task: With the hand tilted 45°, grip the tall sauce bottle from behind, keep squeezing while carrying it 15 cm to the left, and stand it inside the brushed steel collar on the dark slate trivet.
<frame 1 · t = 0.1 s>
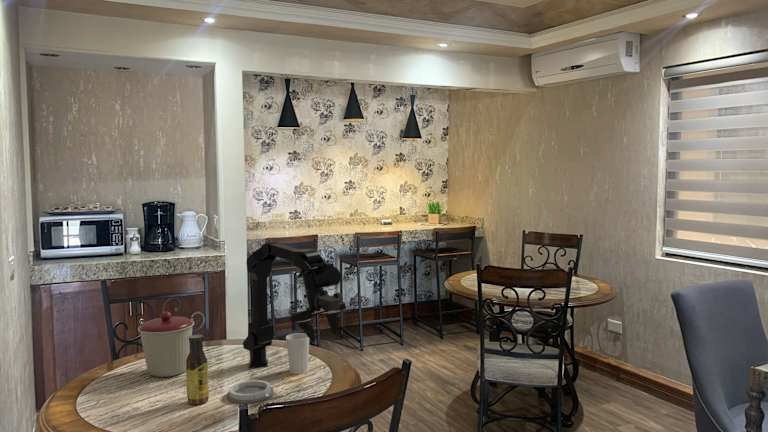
hand: (324, 338, 186), 15 cm above the table, tool pointing down, fingers open, 9 cm apart
cup: (299, 371, 202), on the table
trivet: (250, 394, 182), on the table
sauce bottle: (198, 402, 178), on the table
canister: (169, 372, 204), on the table
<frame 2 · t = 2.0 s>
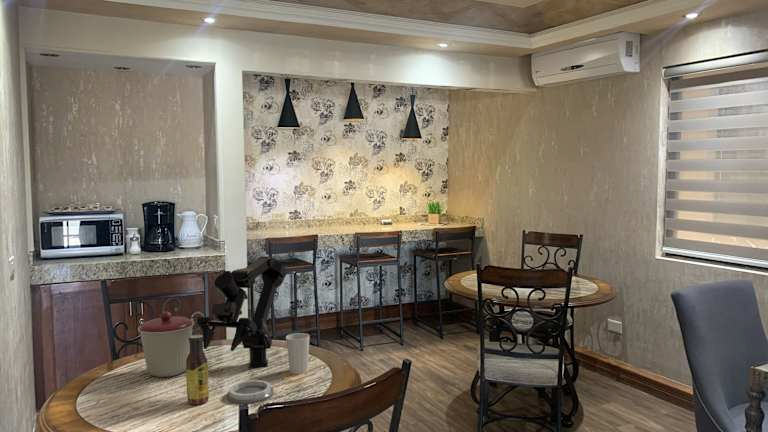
hand: (218, 349, 184), 14 cm above the table, tool tilted 45°, fingers open, 9 cm apart
nothing on the table moved.
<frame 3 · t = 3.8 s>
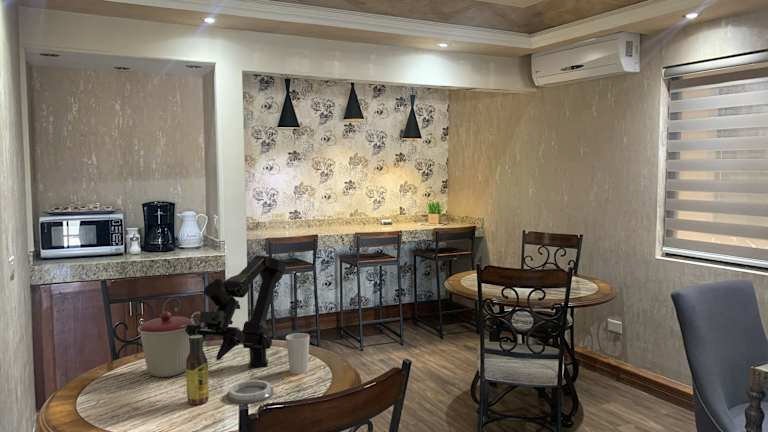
hand: (204, 358, 180), 12 cm above the table, tool tilted 45°, fingers open, 9 cm apart
nothing on the table moved.
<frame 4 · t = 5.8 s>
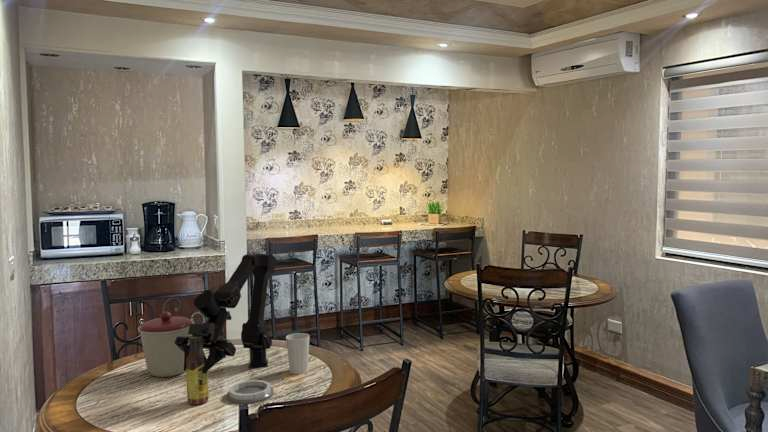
hand: (194, 371, 176), 10 cm above the table, tool tilted 45°, fingers closed on sauce bottle, 6 cm apart
sauce bottle: (198, 402, 178), on the table, touching gripper
everything else where it was.
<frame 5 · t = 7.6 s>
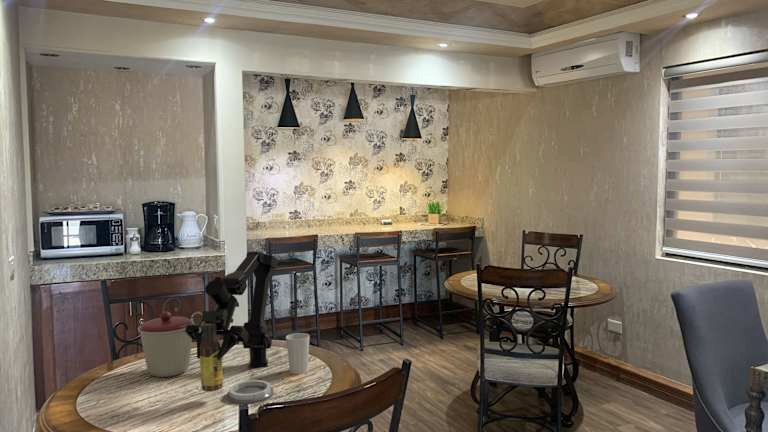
hand: (208, 358, 176), 13 cm above the table, tool tilted 45°, fingers closed on sauce bottle, 6 cm apart
sauce bottle: (212, 388, 178), point 3 cm above the table, touching gripper
everything else where it was.
when the fingers open (12 cm above the table, at t = 9.8 s): sauce bottle drops 1 cm, resting on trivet.
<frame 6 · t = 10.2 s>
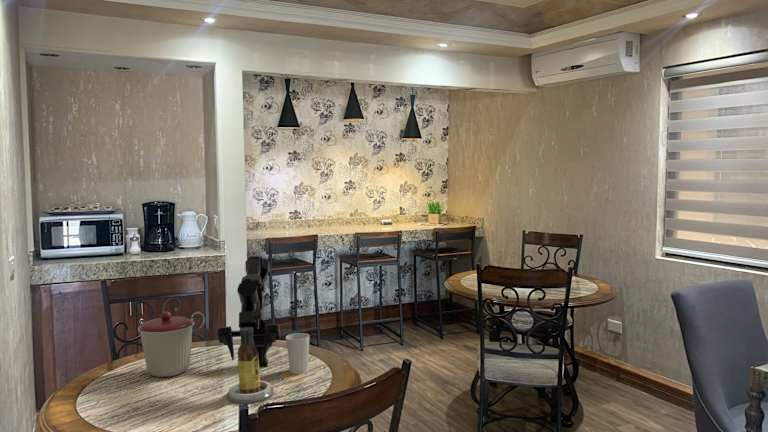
hand: (248, 358, 180), 12 cm above the table, tool tilted 45°, fingers open, 9 cm apart
sauce bottle: (250, 392, 182), point 1 cm above the table, touching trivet
everything else where it was.
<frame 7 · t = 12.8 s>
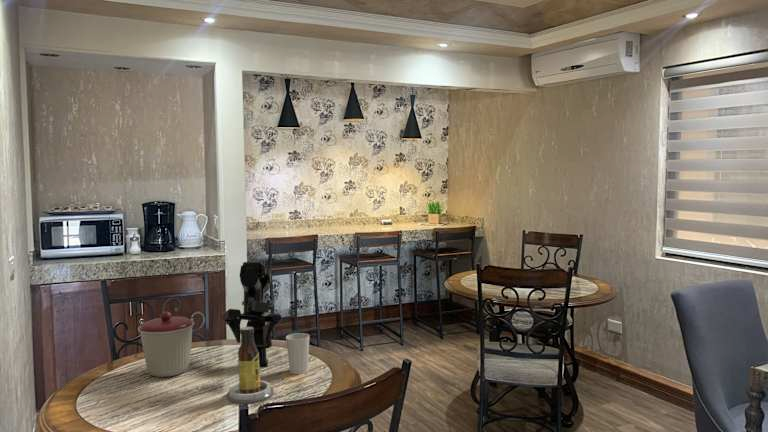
hand: (252, 343, 191), 13 cm above the table, tool tilted 30°, fingers open, 9 cm apart
nothing on the table moved.
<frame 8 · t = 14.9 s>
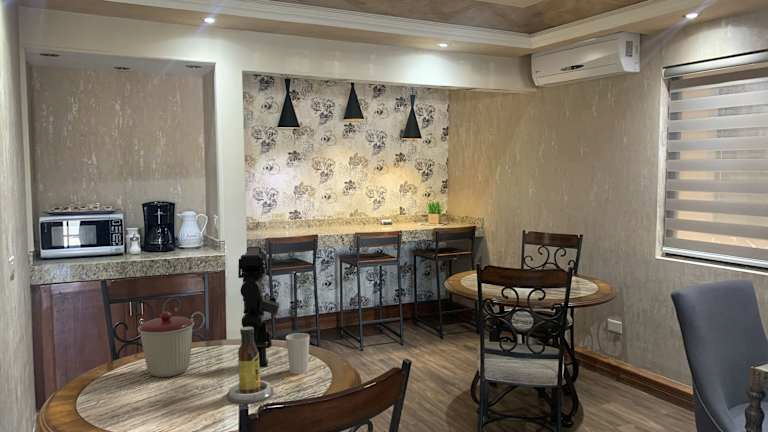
hand: (254, 339, 195), 13 cm above the table, tool pointing down, fingers open, 9 cm apart
nothing on the table moved.
at the end: sauce bottle 0.2 cm off-centre on the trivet, point 0.6 cm above the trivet's base; sauce bottle tilted 0°; the gripper is holding nothing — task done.
